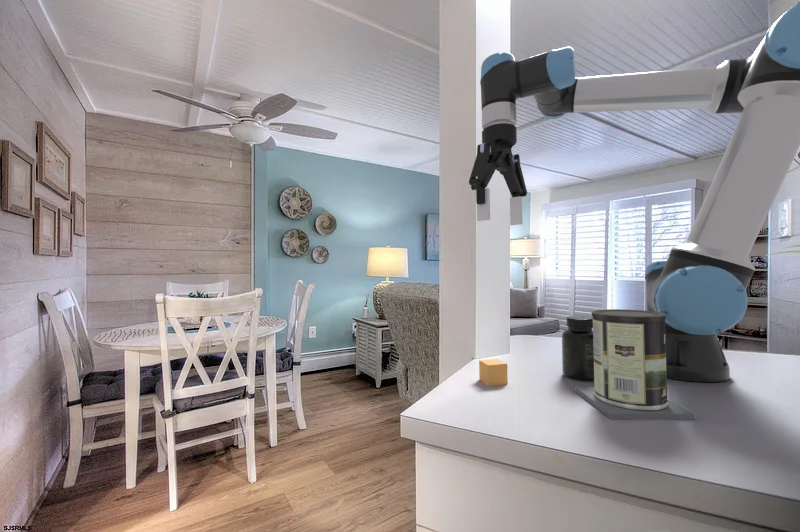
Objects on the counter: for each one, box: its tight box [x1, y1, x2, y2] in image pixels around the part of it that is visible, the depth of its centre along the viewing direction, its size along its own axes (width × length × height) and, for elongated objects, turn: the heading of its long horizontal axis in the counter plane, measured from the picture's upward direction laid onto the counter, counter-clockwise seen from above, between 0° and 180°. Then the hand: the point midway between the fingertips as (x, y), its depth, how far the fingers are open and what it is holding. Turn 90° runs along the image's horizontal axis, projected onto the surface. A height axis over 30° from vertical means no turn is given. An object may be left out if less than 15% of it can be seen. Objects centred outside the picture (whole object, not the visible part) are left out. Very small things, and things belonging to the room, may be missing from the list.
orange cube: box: [478, 358, 509, 387], centre depth 72 cm, size 4×4×4 cm
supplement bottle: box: [561, 315, 594, 382], centre depth 74 cm, size 7×7×12 cm
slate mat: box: [574, 386, 696, 420], centre depth 59 cm, size 12×12×1 cm
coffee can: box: [591, 308, 668, 411], centre depth 59 cm, size 10×10×14 cm
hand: (500, 222), depth 82 cm, fingers open, 13 cm apart
